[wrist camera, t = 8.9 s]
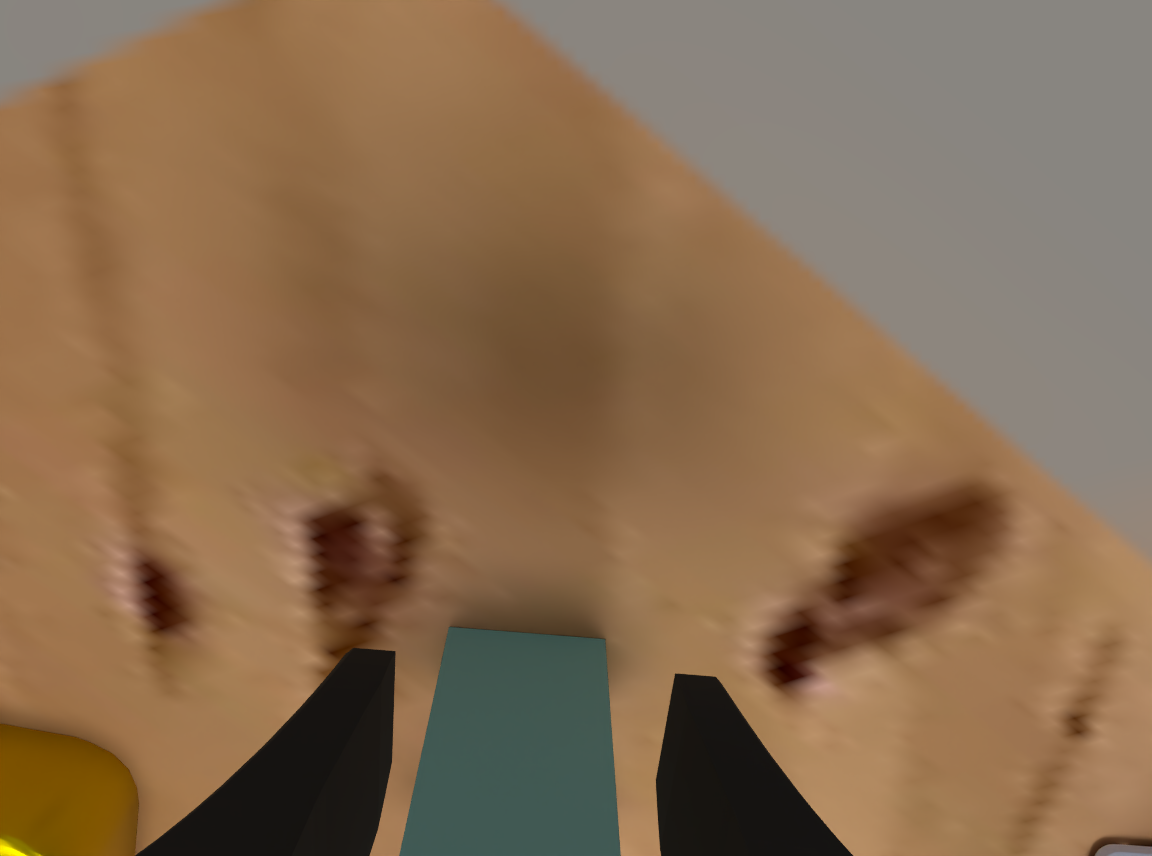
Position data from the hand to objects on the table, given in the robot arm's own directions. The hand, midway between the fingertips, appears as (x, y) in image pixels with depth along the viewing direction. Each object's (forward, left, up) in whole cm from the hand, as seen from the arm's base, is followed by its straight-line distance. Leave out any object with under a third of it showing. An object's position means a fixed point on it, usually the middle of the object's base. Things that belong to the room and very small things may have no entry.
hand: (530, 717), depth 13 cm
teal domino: (0, +7, -10) cm, 13 cm away
